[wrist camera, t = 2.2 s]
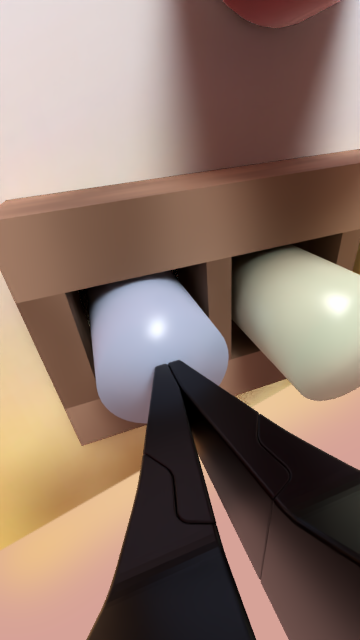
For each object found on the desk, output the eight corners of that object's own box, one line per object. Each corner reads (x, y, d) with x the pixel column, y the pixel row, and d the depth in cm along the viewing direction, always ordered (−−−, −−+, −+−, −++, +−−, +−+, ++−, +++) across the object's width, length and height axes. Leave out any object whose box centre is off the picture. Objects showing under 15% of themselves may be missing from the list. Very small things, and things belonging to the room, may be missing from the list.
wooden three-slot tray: (412, 141, 15) (504, 140, 12) (364, 305, 21) (419, 334, 17) (5, 200, 11) (-22, 223, 8) (79, 386, 16) (81, 445, 13)
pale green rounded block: (300, 228, 14) (429, 274, 9) (290, 308, 16) (386, 379, 11) (215, 246, 13) (304, 308, 8) (217, 328, 15) (287, 415, 10)
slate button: (171, 244, 14) (228, 299, 9) (180, 322, 16) (228, 400, 11) (75, 263, 13) (78, 337, 8) (100, 343, 15) (114, 438, 10)
